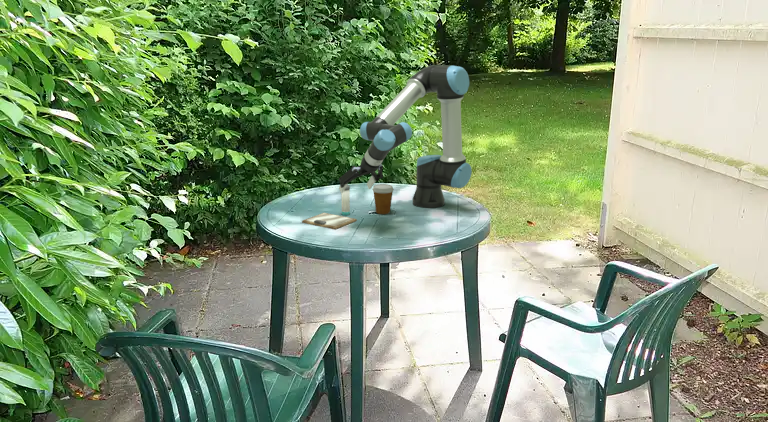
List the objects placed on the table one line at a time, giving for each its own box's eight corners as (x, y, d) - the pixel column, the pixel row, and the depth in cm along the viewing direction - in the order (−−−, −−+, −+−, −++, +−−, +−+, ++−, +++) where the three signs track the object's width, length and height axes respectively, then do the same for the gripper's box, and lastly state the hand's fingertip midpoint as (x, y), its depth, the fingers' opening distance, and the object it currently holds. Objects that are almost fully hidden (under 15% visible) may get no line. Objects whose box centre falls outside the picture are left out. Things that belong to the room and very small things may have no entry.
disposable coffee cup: (391, 215, 275) (391, 189, 272) (370, 214, 277) (370, 188, 274) (395, 210, 284) (395, 184, 281) (374, 208, 286) (374, 183, 283)
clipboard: (356, 220, 268) (356, 216, 267) (335, 229, 256) (335, 225, 255) (324, 214, 277) (323, 210, 277) (302, 222, 265) (301, 218, 265)
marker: (351, 214, 278) (351, 185, 274) (346, 215, 275) (346, 187, 271) (344, 212, 280) (344, 184, 276) (339, 214, 277) (339, 186, 273)
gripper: (348, 170, 241) (331, 199, 258) (402, 163, 254) (382, 192, 270) (342, 154, 244) (325, 184, 261) (395, 149, 257) (376, 177, 273)
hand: (354, 188), depth 266 cm, fingers open, 13 cm apart
